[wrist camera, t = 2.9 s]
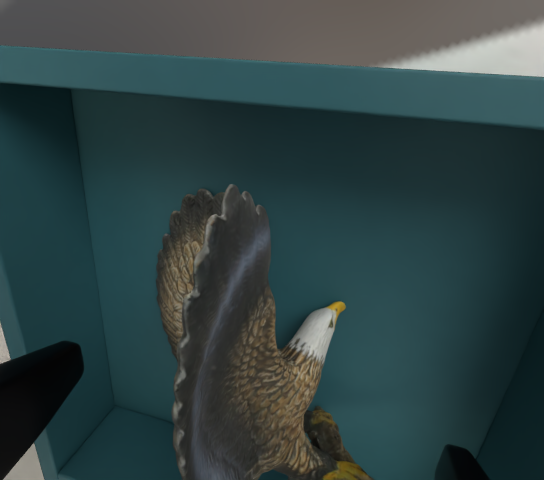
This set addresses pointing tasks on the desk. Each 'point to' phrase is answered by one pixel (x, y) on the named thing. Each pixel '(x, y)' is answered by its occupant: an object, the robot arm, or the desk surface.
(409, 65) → the desk surface
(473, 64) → the desk surface
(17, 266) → the tray
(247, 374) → the eagle figurine
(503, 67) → the desk surface
